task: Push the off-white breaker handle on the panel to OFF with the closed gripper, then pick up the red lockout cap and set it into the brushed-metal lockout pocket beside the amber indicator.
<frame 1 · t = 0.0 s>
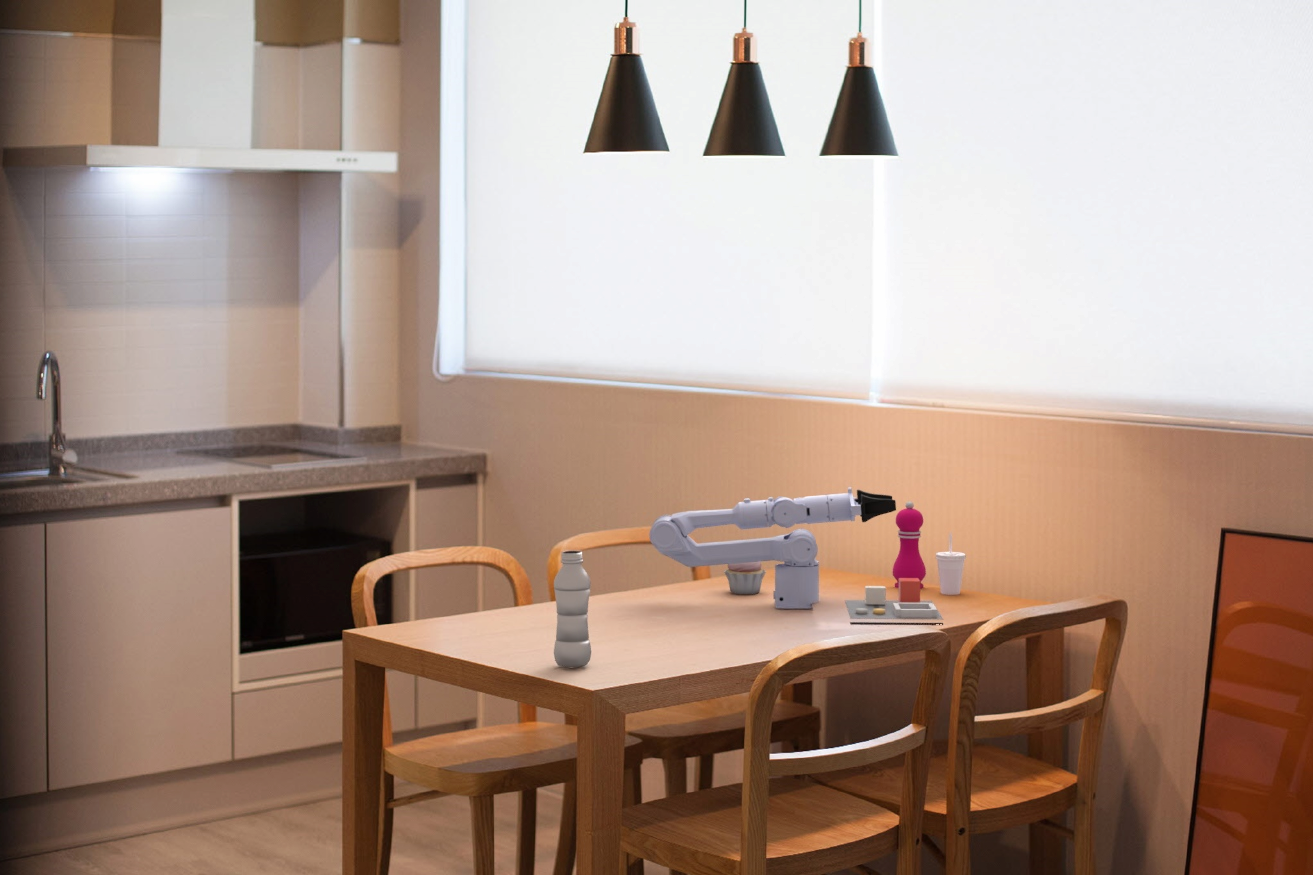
hand: (894, 503, 319), 22 cm above the table, tool horizontal, fingers open, 7 cm apart
panel: (892, 615, 311), on the table
breaker: (875, 595, 317), point 3 cm above the table, slide at 5.0 cm
pepper mill: (909, 592, 338), on the table
plastic bottle: (572, 668, 266), on the table
smoothie: (950, 599, 330), on the table
lockout cap: (909, 603, 317), point 1 cm above the table, touching panel
cupcake: (744, 593, 339), on the table
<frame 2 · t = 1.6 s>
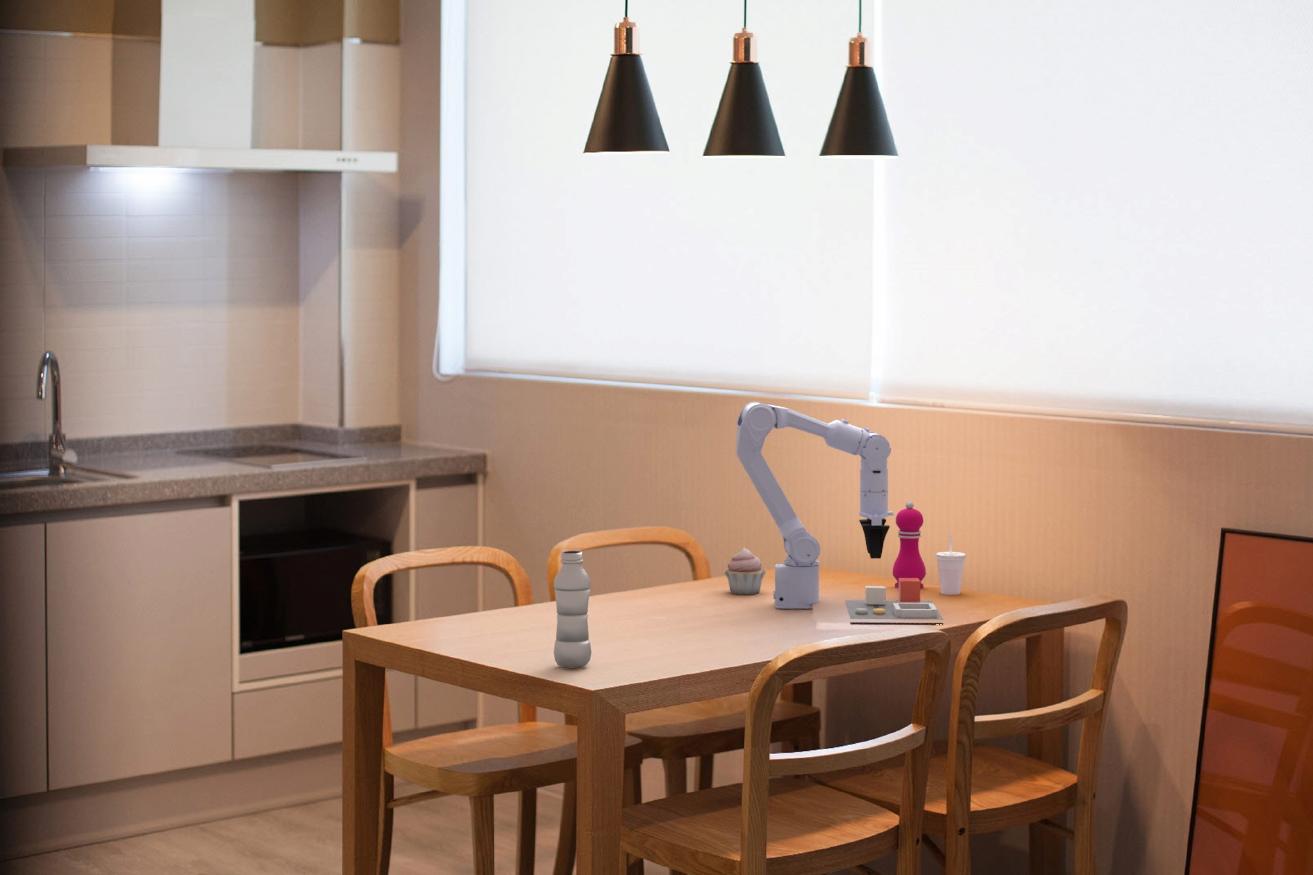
hand: (874, 555, 322), 10 cm above the table, tool pointing down, fingers open, 7 cm apart
nothing on the table moved.
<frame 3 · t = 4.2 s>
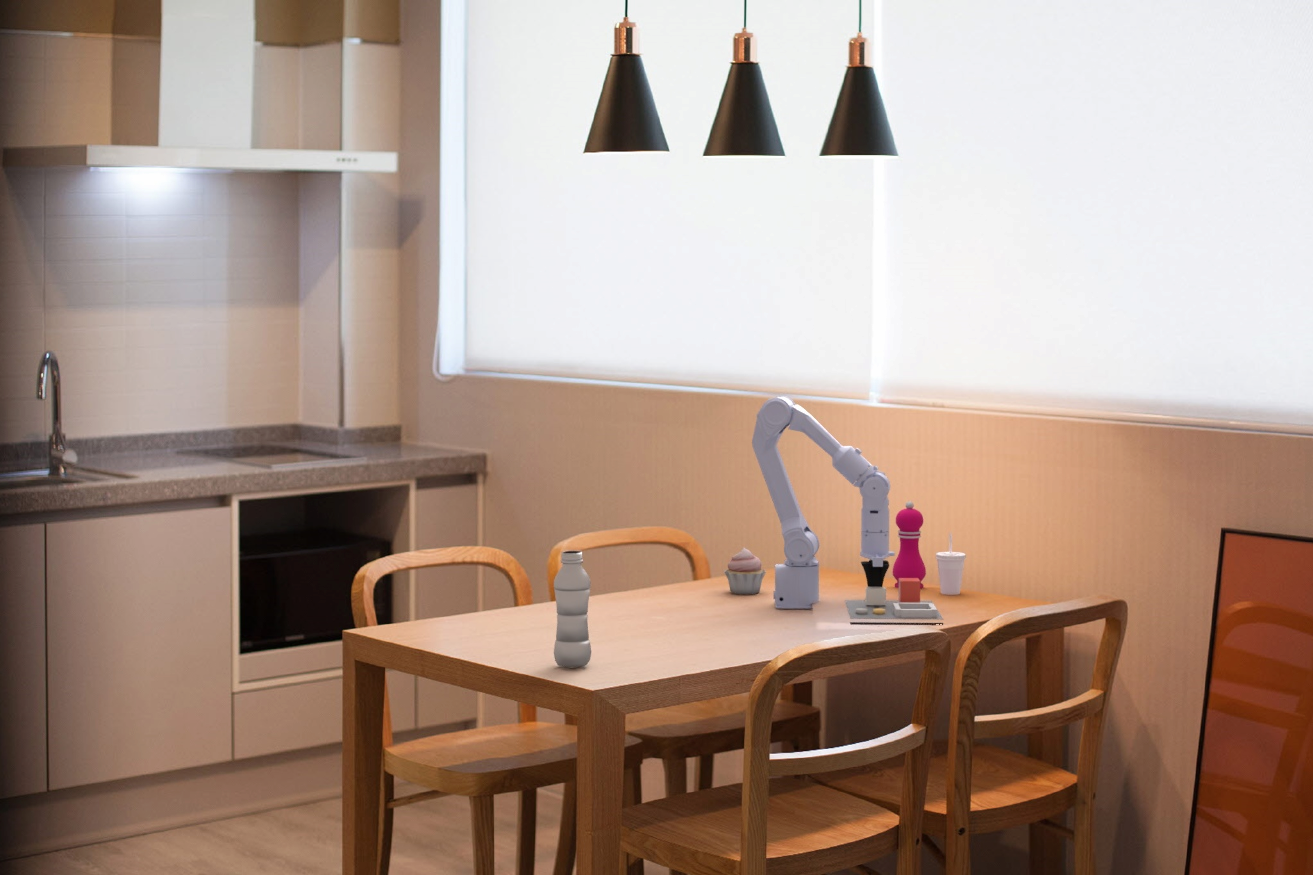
hand: (874, 596, 318), 3 cm above the table, tool pointing down, fingers closed
breaker: (875, 595, 316), point 3 cm above the table, slide at 4.1 cm, touching gripper
everything else where it was.
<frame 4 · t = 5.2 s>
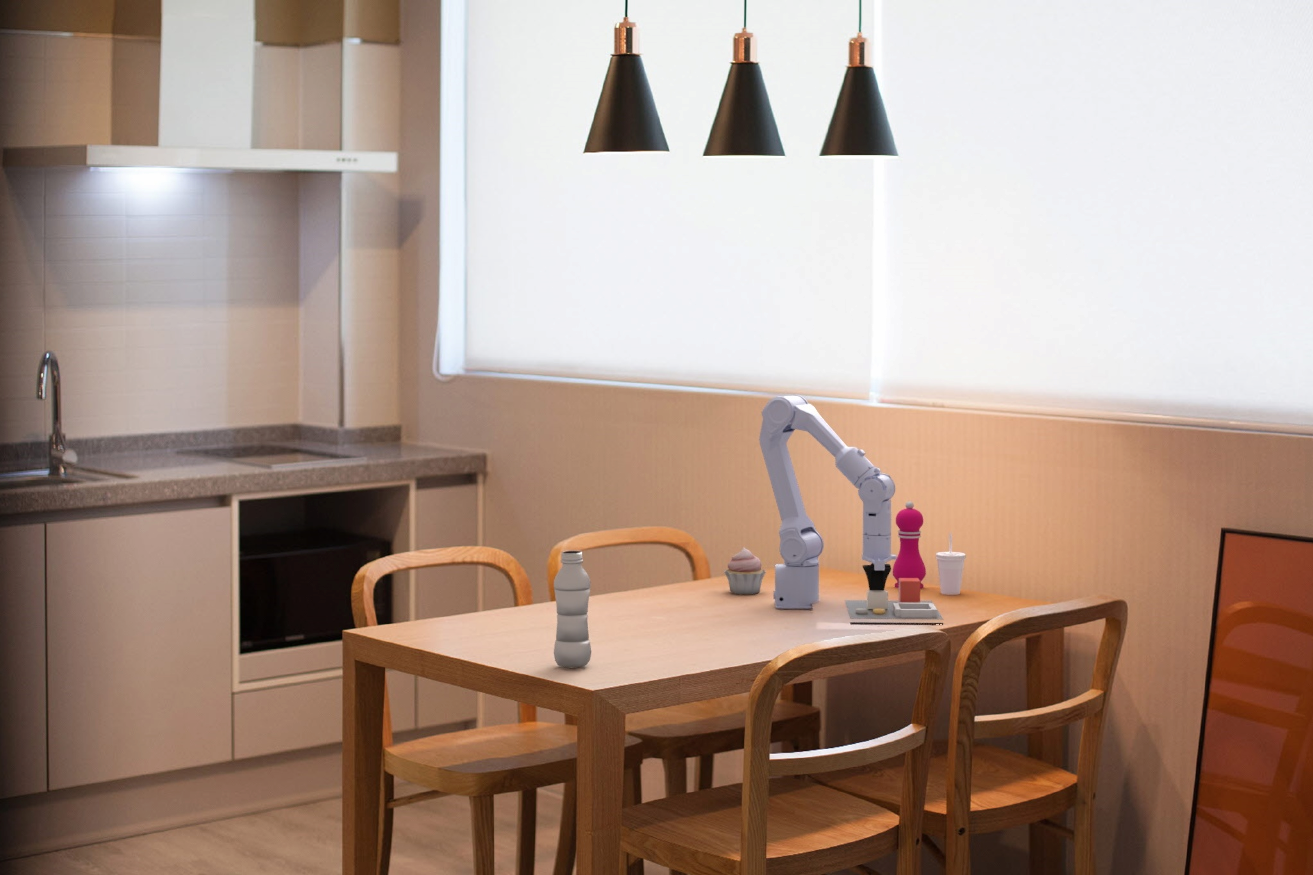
hand: (876, 600, 314), 3 cm above the table, tool pointing down, fingers closed
breaker: (877, 599, 311), point 3 cm above the table, slide at -0.2 cm, touching gripper
everything else where it was.
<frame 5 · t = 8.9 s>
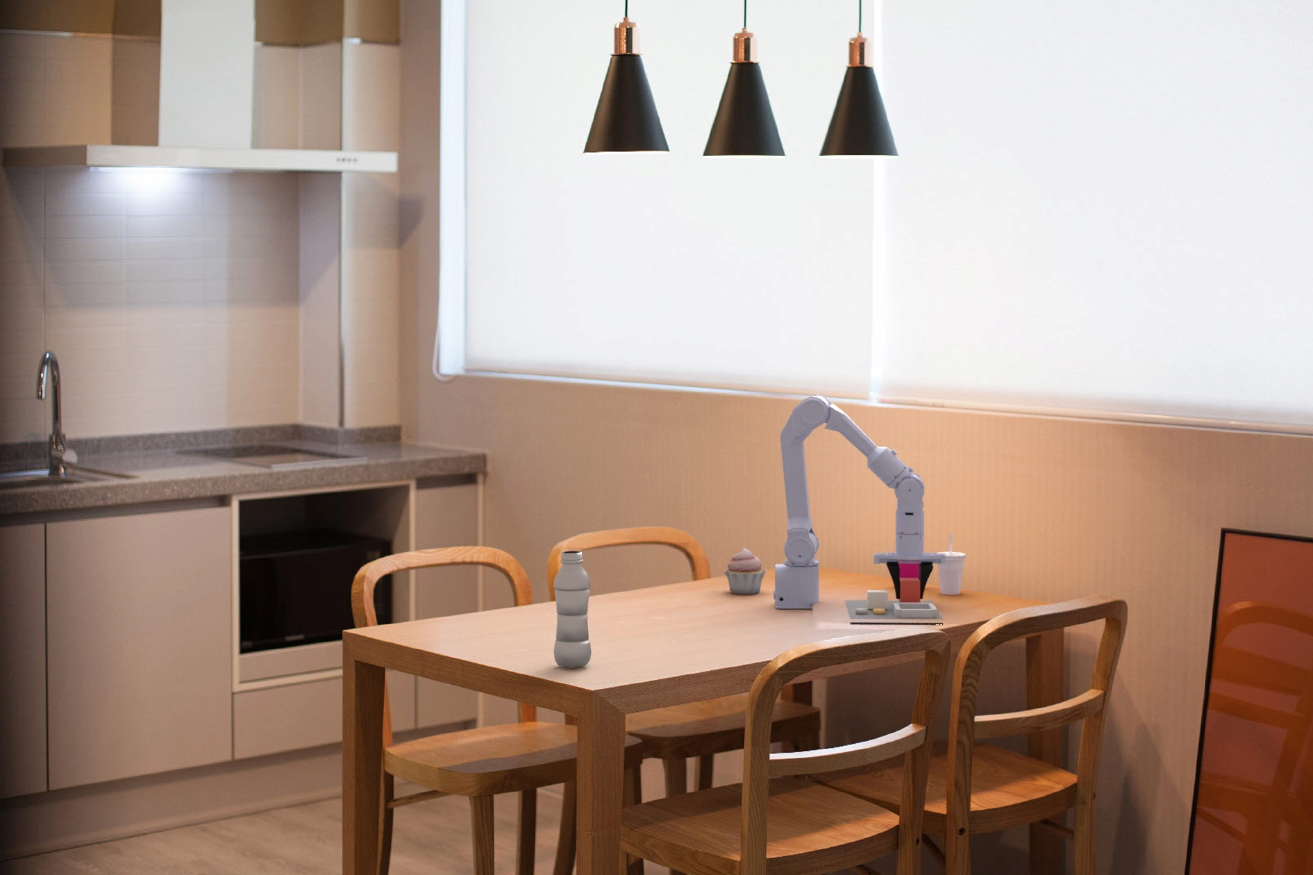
hand: (909, 598, 317), 2 cm above the table, tool pointing down, fingers closed on lockout cap, 4 cm apart
breaker: (877, 599, 312), point 3 cm above the table, slide at -0.1 cm
lockout cap: (909, 603, 317), point 1 cm above the table, touching gripper, panel
everything else where it was.
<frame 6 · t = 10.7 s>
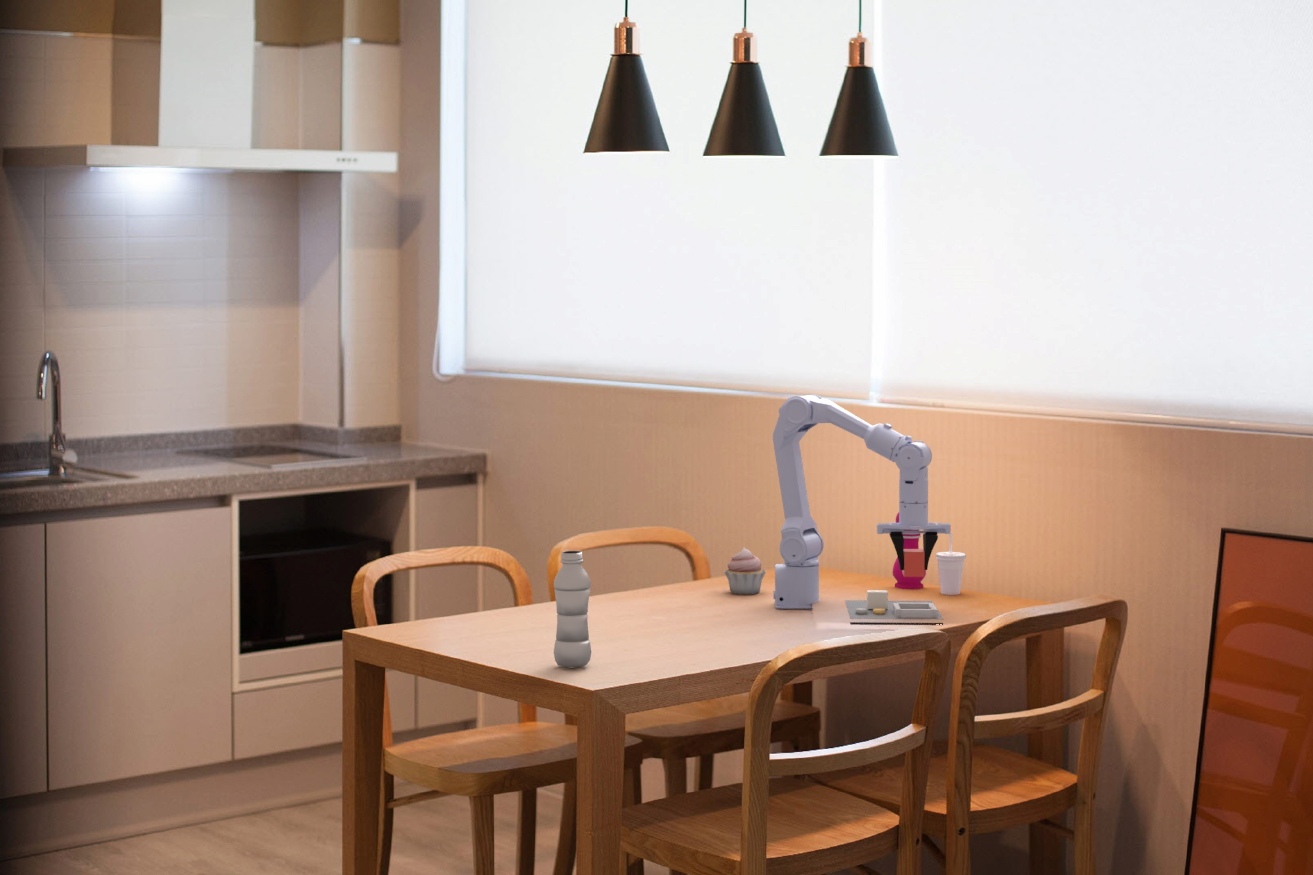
hand: (913, 569, 310), 9 cm above the table, tool pointing down, fingers closed on lockout cap, 4 cm apart
lockout cap: (913, 575, 310), point 8 cm above the table, touching gripper
everything else where it was.
when the fingers open (3 cm above the table, at t = 12.5 s): lockout cap stays where it is, resting on panel.
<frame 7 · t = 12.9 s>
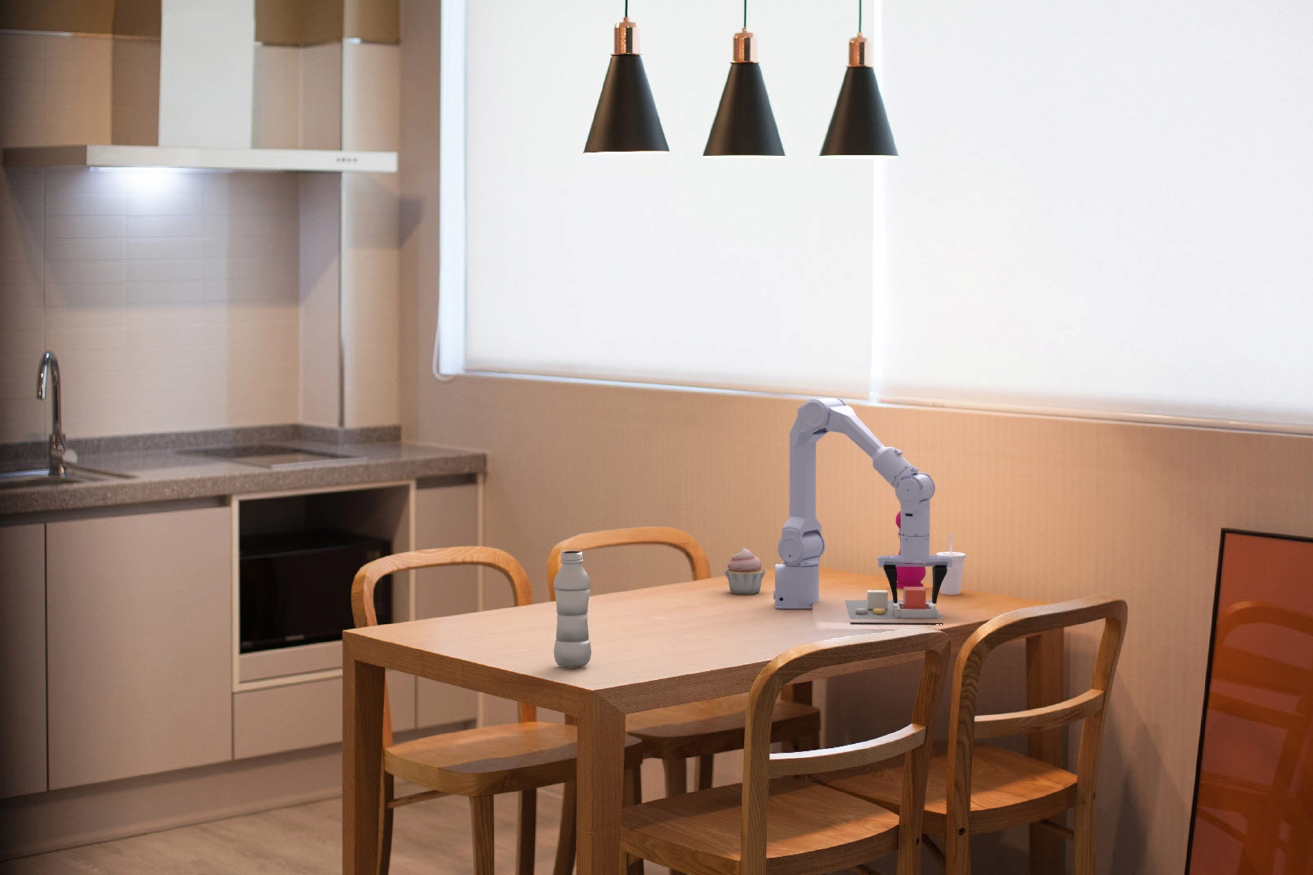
hand: (914, 602, 306), 3 cm above the table, tool pointing down, fingers open, 7 cm apart
lockout cap: (914, 613, 307), point 1 cm above the table, touching panel
everything else where it was.
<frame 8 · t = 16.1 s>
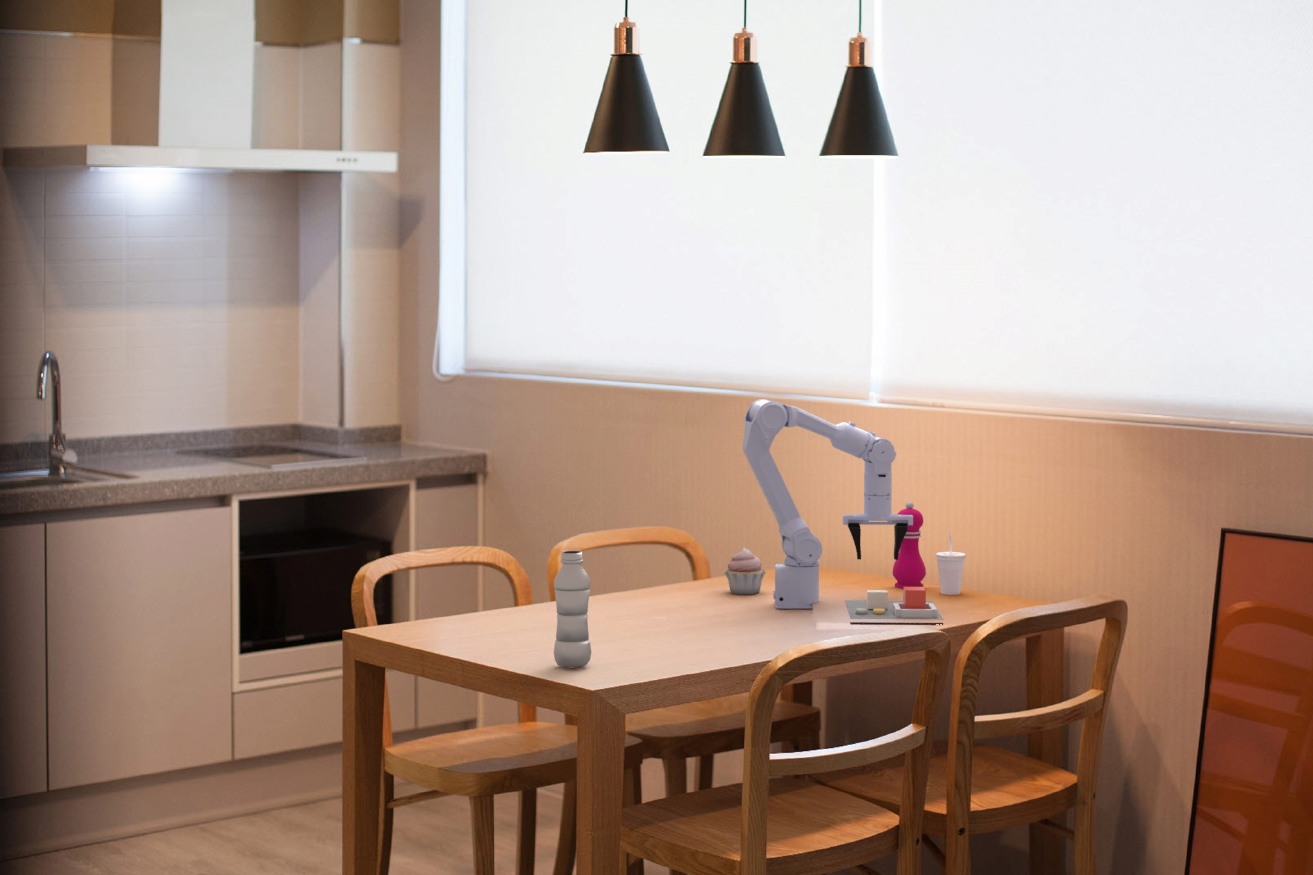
hand: (877, 558, 324), 9 cm above the table, tool pointing down, fingers open, 7 cm apart
nothing on the table moved.
at the end: breaker slide at -0.1 cm; lockout cap 0.3 cm from the target spot on the panel, point 1.2 cm above the panel's base; lockout cap tilted 0° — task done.
